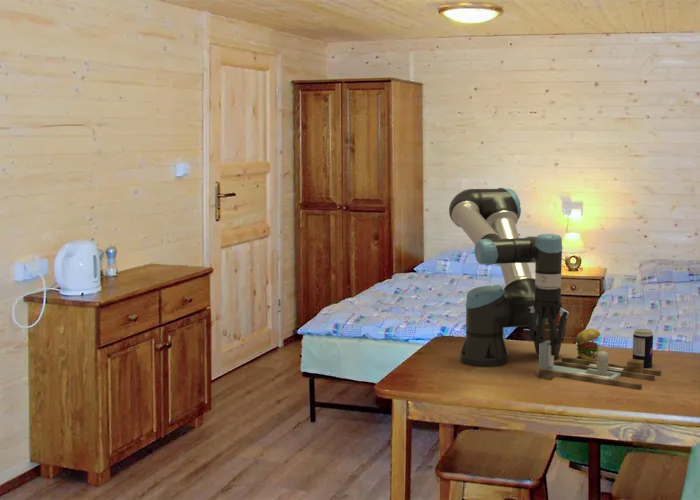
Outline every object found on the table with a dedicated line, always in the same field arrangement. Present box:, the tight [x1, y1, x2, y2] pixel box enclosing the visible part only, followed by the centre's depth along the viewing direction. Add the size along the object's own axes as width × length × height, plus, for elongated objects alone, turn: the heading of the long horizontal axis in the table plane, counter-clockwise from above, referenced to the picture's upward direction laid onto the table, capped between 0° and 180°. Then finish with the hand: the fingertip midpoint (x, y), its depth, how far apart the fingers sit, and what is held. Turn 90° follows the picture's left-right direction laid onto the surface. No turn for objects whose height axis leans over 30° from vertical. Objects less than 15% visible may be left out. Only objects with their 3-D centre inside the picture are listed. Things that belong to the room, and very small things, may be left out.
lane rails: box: [537, 356, 662, 391], centre depth 263 cm, size 30×18×3 cm, turn 54°
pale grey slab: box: [536, 340, 622, 380], centre depth 263 cm, size 22×9×9 cm, turn 54°
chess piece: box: [596, 350, 610, 377], centre depth 259 cm, size 5×5×9 cm
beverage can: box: [631, 328, 654, 369], centre depth 271 cm, size 6×6×12 cm
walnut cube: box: [626, 358, 644, 373], centre depth 262 cm, size 4×4×4 cm
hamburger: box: [575, 324, 601, 361], centre depth 281 cm, size 8×7×12 cm
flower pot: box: [533, 322, 567, 360], centre depth 288 cm, size 12×11×10 cm
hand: (546, 364), depth 269 cm, fingers closed on pale grey slab, 2 cm apart
